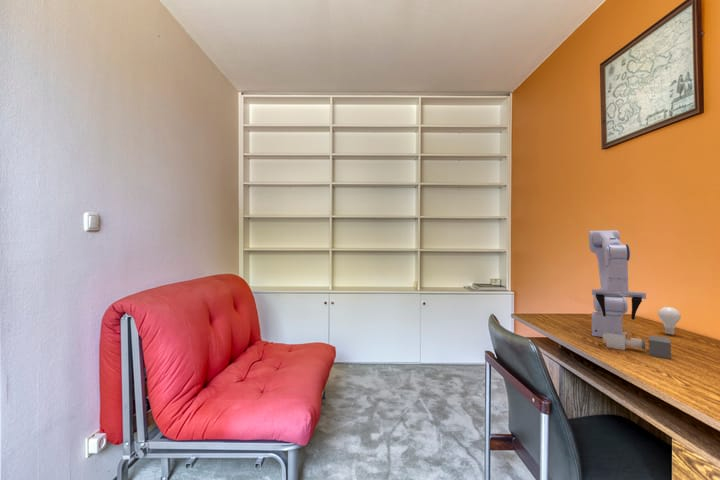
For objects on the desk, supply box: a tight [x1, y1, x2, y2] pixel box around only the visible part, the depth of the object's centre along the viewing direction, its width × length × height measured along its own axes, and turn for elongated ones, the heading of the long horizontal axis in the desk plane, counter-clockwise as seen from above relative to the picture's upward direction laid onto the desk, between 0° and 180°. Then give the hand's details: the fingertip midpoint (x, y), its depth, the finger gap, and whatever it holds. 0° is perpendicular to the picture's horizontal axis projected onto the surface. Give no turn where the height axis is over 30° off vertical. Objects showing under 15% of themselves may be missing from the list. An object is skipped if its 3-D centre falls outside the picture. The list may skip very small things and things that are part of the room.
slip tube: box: [602, 323, 646, 350], centre depth 107 cm, size 11×3×8 cm, turn 47°
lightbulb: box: [657, 306, 682, 336], centre depth 122 cm, size 6×6×11 cm
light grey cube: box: [605, 330, 627, 351], centre depth 109 cm, size 5×5×5 cm
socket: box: [648, 334, 672, 360], centre depth 101 cm, size 5×7×5 cm
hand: (618, 317), depth 108 cm, fingers open, 7 cm apart
